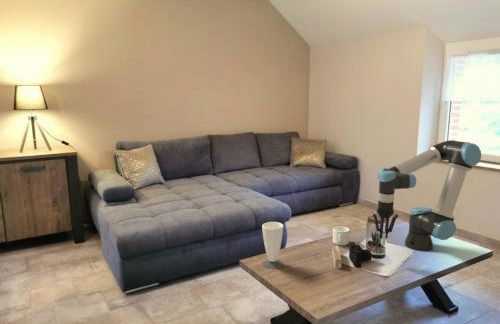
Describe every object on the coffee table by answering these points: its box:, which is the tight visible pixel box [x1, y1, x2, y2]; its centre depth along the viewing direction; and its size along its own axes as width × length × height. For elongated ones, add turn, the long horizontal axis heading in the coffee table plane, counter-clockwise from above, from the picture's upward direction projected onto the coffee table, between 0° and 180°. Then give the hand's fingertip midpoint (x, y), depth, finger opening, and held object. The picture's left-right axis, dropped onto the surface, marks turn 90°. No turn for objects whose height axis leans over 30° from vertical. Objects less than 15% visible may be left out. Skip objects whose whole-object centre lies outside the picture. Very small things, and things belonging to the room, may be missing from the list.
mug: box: [332, 225, 351, 247], centre depth 223 cm, size 12×10×9 cm
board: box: [331, 245, 342, 270], centre depth 201 cm, size 3×18×5 cm, turn 172°
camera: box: [348, 241, 372, 269], centre depth 199 cm, size 14×11×10 cm
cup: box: [261, 221, 284, 269], centre depth 197 cm, size 12×12×22 cm
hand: (382, 244), depth 196 cm, fingers closed
